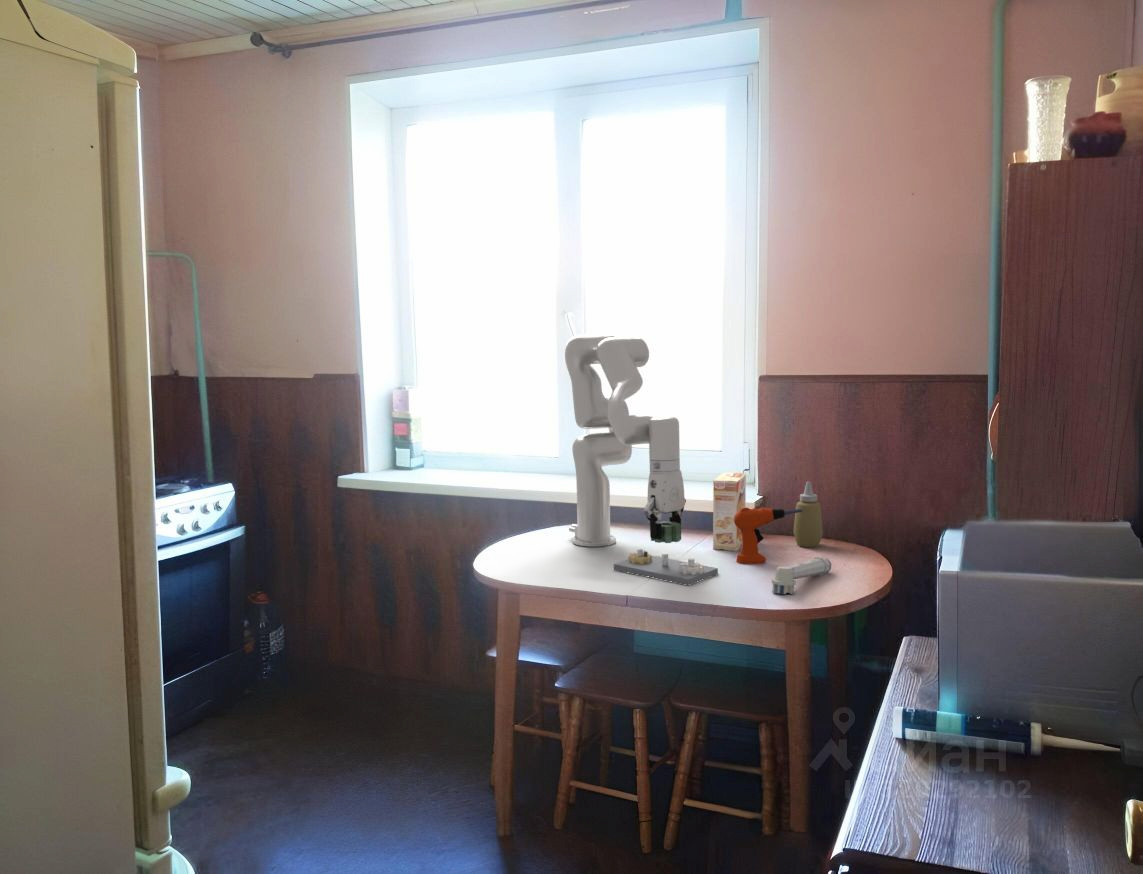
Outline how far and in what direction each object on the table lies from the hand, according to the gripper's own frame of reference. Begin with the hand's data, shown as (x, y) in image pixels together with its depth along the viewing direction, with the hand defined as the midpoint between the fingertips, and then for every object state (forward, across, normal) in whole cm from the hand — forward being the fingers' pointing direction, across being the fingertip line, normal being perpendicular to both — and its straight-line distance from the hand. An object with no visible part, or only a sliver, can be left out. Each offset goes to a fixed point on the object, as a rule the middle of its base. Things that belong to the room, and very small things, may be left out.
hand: (665, 535), depth 223 cm
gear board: (+10, 0, +1) cm, 10 cm away
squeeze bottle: (+10, +47, -14) cm, 50 cm away
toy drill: (+10, +25, -14) cm, 31 cm away
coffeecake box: (+9, +35, +4) cm, 37 cm away
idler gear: (+1, 0, 0) cm, 1 cm away
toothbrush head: (+11, +13, -31) cm, 35 cm away
